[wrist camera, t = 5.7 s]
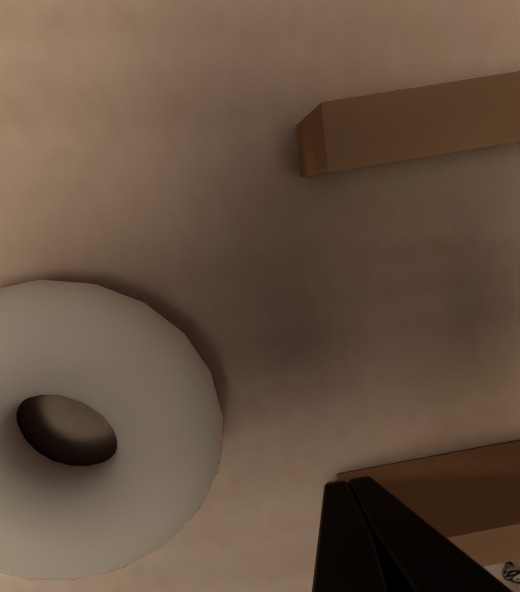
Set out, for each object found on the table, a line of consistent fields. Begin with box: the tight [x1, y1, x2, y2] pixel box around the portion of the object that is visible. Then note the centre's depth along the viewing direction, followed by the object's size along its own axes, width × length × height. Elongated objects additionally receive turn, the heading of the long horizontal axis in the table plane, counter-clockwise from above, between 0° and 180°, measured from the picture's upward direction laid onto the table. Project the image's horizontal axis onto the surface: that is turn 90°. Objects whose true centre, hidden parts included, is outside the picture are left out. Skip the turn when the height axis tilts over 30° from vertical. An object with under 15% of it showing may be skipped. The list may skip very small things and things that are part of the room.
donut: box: [0, 280, 224, 580], centre depth 12 cm, size 10×3×10 cm
